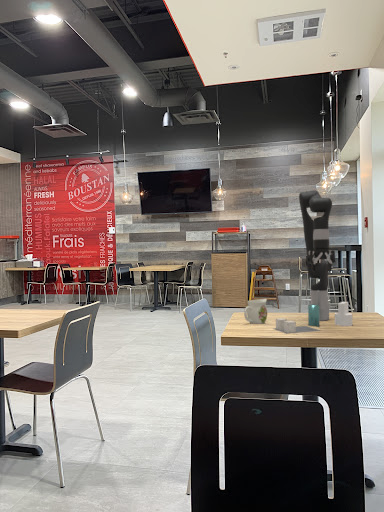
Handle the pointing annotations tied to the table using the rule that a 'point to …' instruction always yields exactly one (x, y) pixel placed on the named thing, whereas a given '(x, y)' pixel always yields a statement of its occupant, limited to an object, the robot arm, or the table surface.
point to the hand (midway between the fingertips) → (321, 271)
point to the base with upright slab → (343, 315)
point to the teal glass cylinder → (313, 315)
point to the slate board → (300, 329)
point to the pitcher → (256, 311)
